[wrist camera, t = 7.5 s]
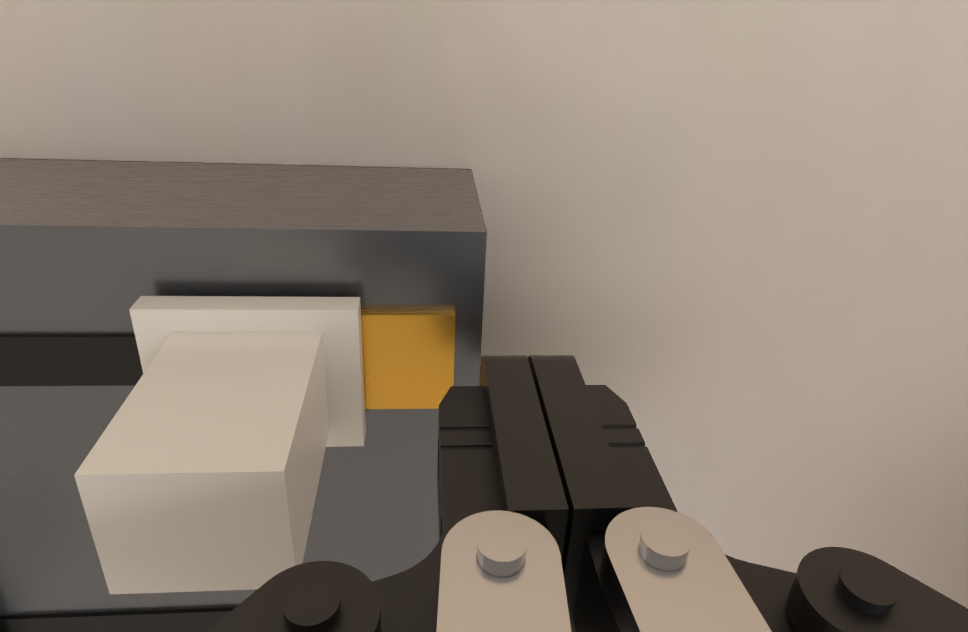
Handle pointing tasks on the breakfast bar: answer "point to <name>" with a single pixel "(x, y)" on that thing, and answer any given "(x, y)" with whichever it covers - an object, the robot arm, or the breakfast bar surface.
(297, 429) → the block
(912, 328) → the breakfast bar surface
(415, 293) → the breaker panel
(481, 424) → the robot arm
